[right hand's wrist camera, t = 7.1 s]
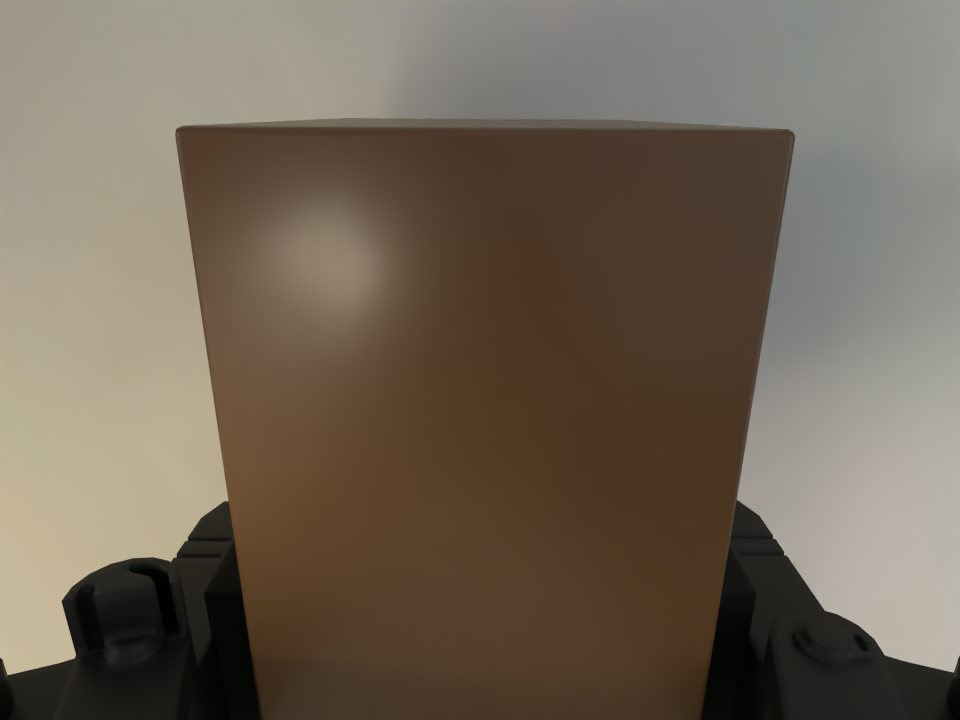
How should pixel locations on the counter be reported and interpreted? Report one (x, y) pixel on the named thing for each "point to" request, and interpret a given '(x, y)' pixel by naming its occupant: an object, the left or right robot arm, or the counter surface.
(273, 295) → the bar
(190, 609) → the right robot arm
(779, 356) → the counter surface
